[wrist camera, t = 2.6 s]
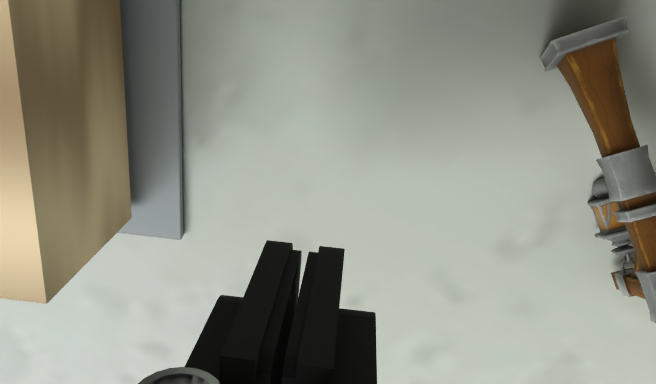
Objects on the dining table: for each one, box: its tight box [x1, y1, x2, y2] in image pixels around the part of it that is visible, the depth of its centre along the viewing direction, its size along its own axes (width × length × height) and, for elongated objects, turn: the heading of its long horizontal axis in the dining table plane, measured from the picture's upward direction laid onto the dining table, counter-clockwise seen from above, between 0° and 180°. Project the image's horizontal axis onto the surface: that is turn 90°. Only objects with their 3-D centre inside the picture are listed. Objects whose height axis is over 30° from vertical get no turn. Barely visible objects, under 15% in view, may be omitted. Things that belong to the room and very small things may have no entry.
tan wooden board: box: [0, 0, 132, 304], centre depth 12 cm, size 12×2×5 cm, turn 175°
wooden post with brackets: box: [540, 15, 656, 323], centre depth 15 cm, size 2×8×4 cm, turn 20°
